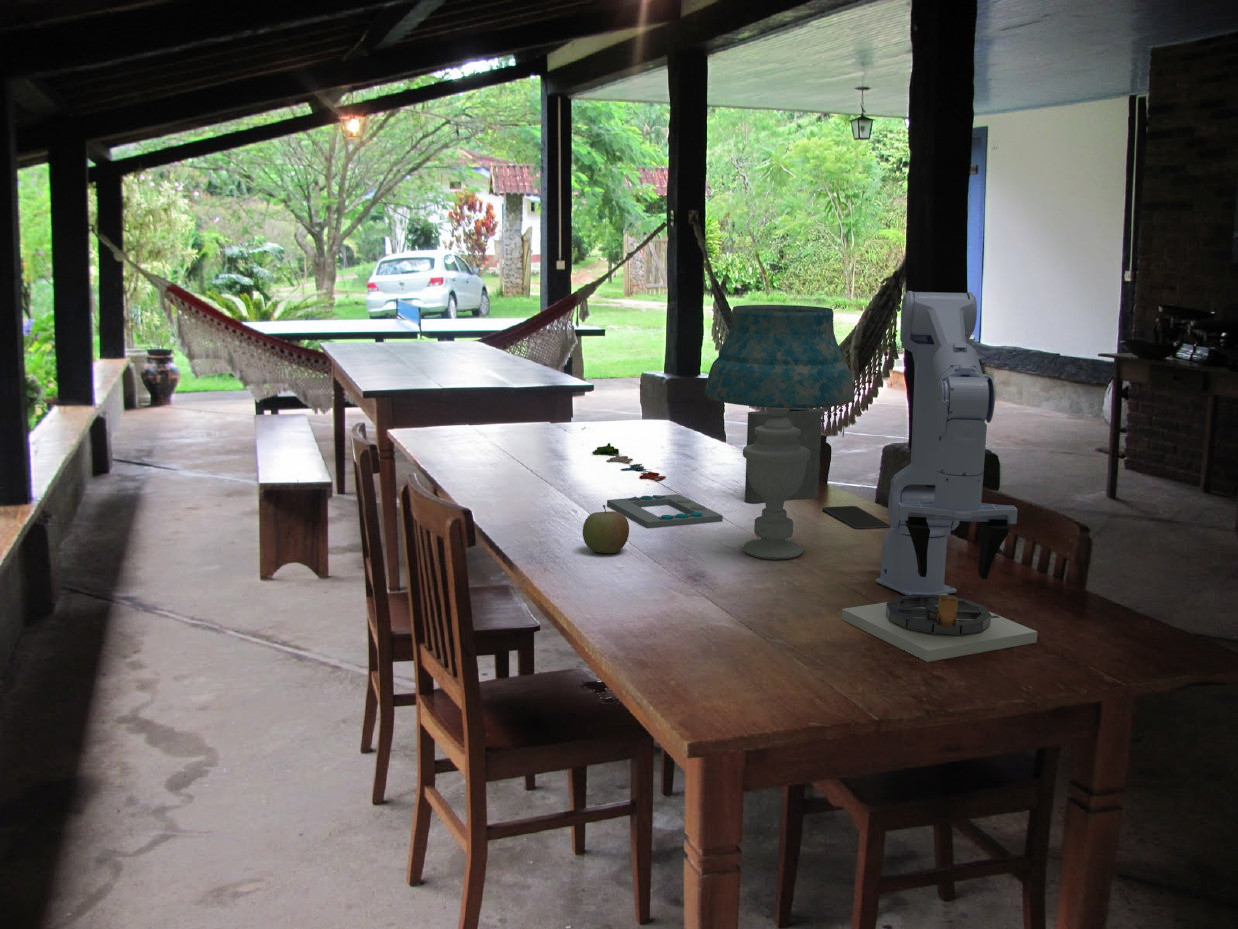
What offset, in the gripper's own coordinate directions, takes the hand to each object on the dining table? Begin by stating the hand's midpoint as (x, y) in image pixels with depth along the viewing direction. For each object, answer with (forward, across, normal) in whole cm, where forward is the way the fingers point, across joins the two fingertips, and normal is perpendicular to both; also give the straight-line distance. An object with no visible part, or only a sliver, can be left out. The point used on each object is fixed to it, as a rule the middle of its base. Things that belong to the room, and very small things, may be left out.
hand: (952, 575), depth 157 cm
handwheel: (+8, 0, +6) cm, 10 cm away
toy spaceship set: (+10, -48, +112) cm, 122 cm away
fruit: (+10, -47, +40) cm, 63 cm away
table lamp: (+10, -20, +43) cm, 48 cm away
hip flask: (+10, -16, +83) cm, 85 cm away
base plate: (+9, 0, +6) cm, 11 cm away
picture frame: (+10, -39, +68) cm, 79 cm away
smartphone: (+10, -3, +68) cm, 69 cm away
